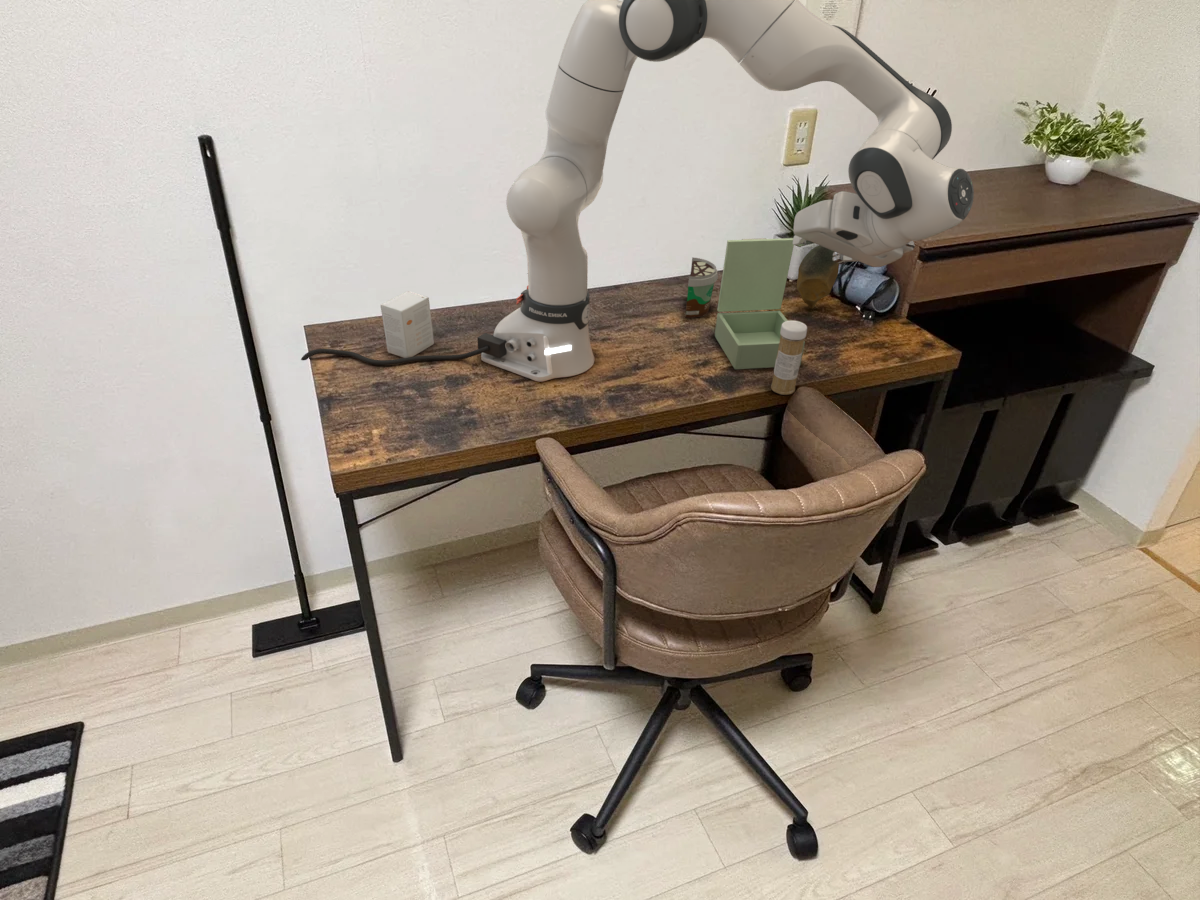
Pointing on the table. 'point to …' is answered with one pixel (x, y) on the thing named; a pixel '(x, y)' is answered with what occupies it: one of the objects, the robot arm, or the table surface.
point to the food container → (700, 287)
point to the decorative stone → (816, 275)
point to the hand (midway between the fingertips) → (816, 250)
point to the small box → (407, 324)
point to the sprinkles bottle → (788, 357)
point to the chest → (750, 337)
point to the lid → (754, 274)
